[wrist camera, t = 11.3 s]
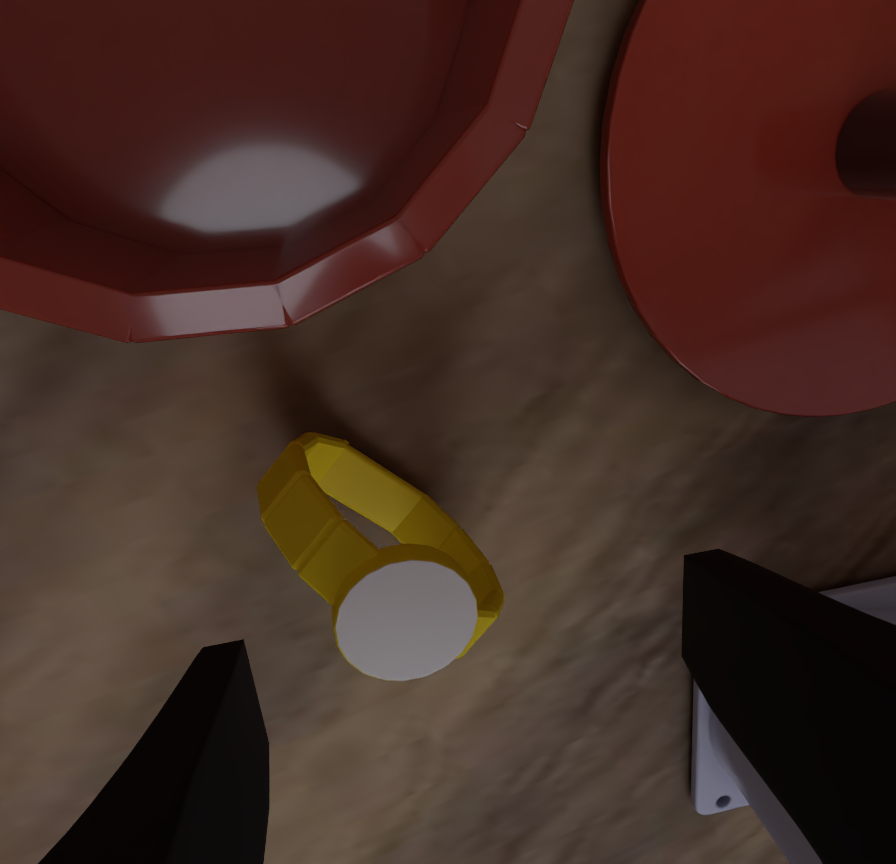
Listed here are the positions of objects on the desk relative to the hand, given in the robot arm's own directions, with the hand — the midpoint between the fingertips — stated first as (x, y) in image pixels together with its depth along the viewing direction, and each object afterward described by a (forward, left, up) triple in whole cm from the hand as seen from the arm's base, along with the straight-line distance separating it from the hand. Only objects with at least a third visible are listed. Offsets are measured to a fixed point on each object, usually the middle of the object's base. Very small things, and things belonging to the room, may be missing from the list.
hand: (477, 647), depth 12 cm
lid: (-12, -6, -7) cm, 15 cm away
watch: (+1, +1, -8) cm, 8 cm away
